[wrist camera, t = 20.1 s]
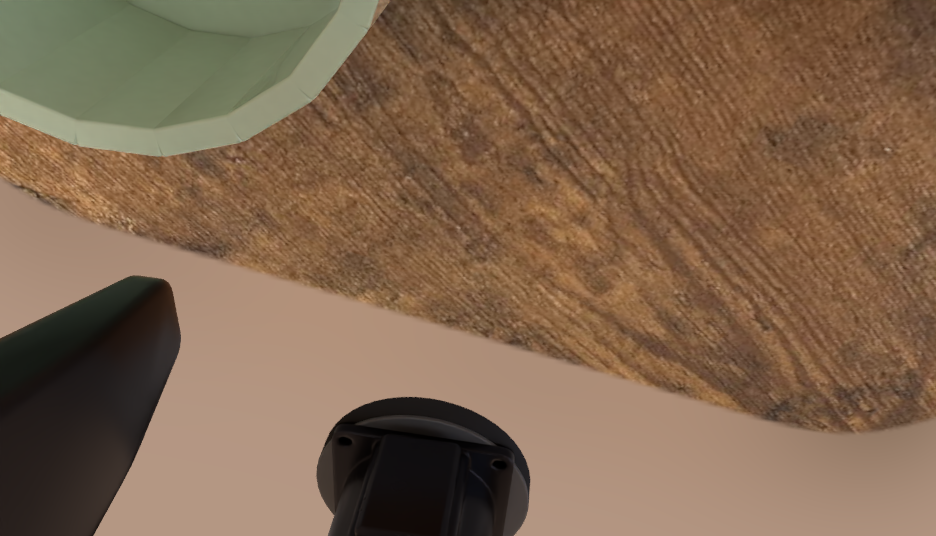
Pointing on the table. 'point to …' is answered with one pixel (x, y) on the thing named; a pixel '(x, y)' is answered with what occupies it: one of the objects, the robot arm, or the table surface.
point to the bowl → (170, 67)
